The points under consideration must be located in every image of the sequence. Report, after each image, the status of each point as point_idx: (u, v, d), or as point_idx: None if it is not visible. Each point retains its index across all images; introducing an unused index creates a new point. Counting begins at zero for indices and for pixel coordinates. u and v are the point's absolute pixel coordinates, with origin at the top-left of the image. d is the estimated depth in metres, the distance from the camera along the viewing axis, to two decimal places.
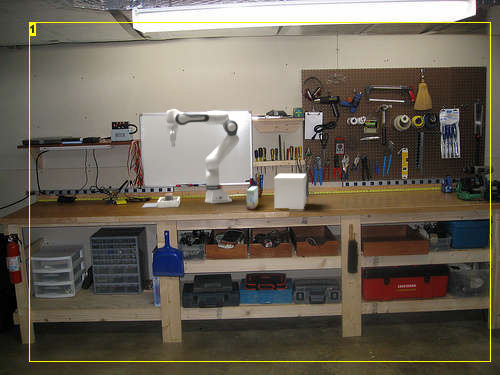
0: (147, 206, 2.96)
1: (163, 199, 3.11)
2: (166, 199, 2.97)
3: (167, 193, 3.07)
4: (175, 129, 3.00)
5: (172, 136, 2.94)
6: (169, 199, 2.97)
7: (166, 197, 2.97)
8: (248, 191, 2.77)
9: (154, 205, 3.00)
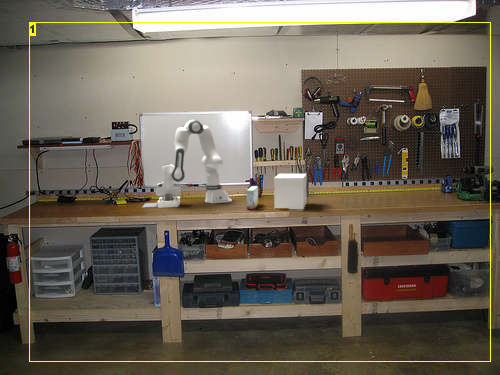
0: (147, 206, 2.96)
1: (163, 199, 3.11)
2: (166, 199, 2.97)
3: None
4: None
5: (180, 190, 3.03)
6: (169, 199, 2.97)
7: (166, 197, 2.97)
8: (248, 191, 2.77)
9: (154, 205, 3.00)
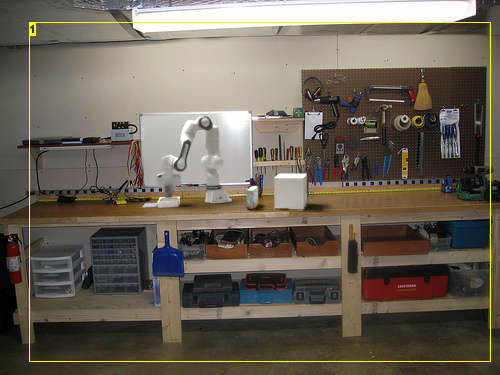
0: (147, 206, 2.96)
1: (163, 199, 3.11)
2: (166, 190, 2.96)
3: None
4: None
5: (180, 180, 3.02)
6: (169, 190, 2.96)
7: (166, 188, 2.96)
8: (248, 191, 2.77)
9: (154, 205, 3.00)
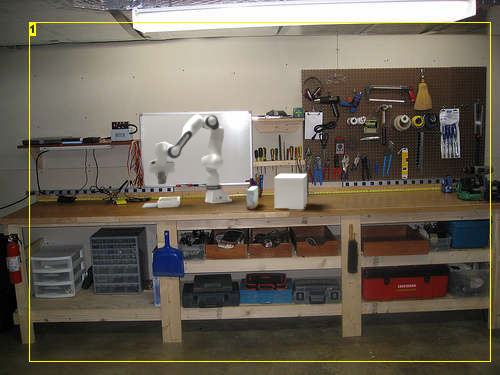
0: (147, 206, 2.96)
1: (163, 199, 3.11)
2: (159, 176, 2.94)
3: None
4: None
5: None
6: (162, 176, 2.94)
7: (159, 174, 2.94)
8: (248, 191, 2.77)
9: (154, 205, 3.00)
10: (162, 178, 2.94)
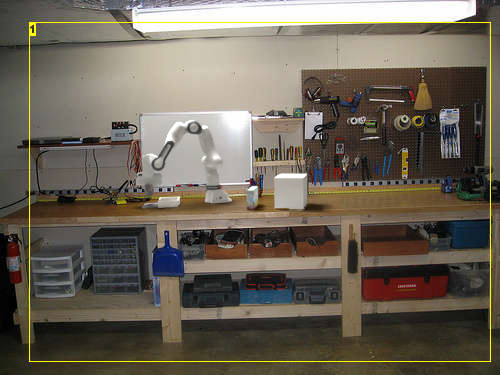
0: (147, 206, 2.96)
1: (163, 199, 3.11)
2: (146, 189, 2.94)
3: None
4: None
5: None
6: (149, 189, 2.94)
7: (146, 186, 2.94)
8: (248, 191, 2.77)
9: (154, 205, 3.00)
10: (149, 190, 2.94)
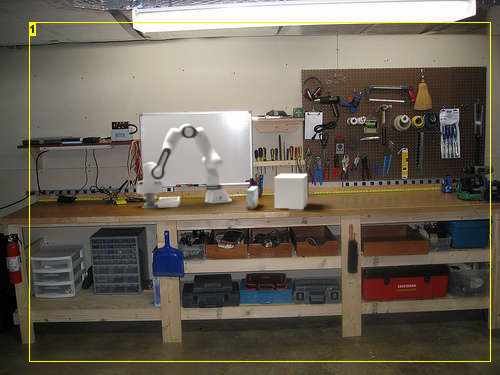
0: None
1: (163, 199, 3.11)
2: (147, 199, 2.95)
3: (148, 193, 3.05)
4: None
5: (161, 188, 3.02)
6: (150, 199, 2.96)
7: (147, 197, 2.95)
8: (248, 191, 2.77)
9: (154, 205, 3.00)
10: (150, 200, 2.96)
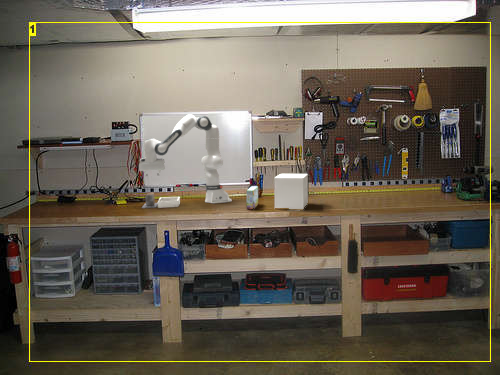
0: None
1: (163, 199, 3.11)
2: (147, 199, 2.95)
3: (148, 193, 3.05)
4: None
5: None
6: (150, 199, 2.96)
7: (147, 197, 2.95)
8: (248, 191, 2.77)
9: (154, 205, 3.00)
10: (150, 200, 2.96)
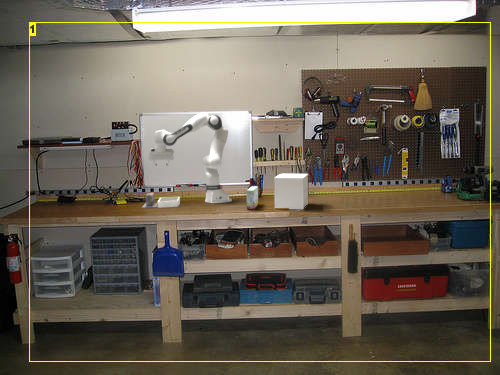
0: None
1: (163, 199, 3.11)
2: (147, 199, 2.95)
3: (148, 193, 3.05)
4: None
5: None
6: (150, 199, 2.96)
7: (147, 197, 2.95)
8: (248, 191, 2.77)
9: (154, 205, 3.00)
10: (150, 200, 2.96)
